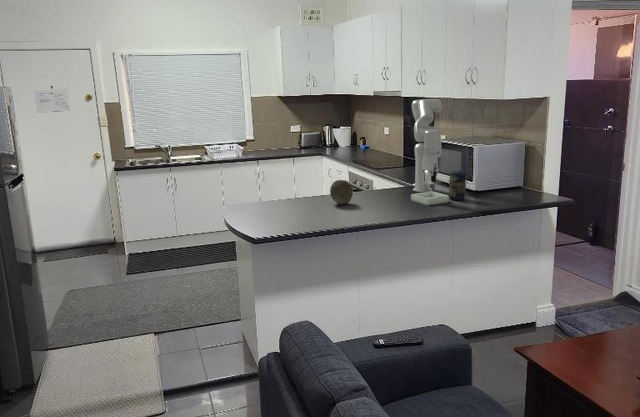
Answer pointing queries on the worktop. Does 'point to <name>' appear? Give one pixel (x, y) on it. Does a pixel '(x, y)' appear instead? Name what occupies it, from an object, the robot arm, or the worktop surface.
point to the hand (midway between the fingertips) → (430, 180)
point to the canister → (457, 185)
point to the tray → (429, 198)
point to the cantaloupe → (341, 192)
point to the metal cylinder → (428, 177)
